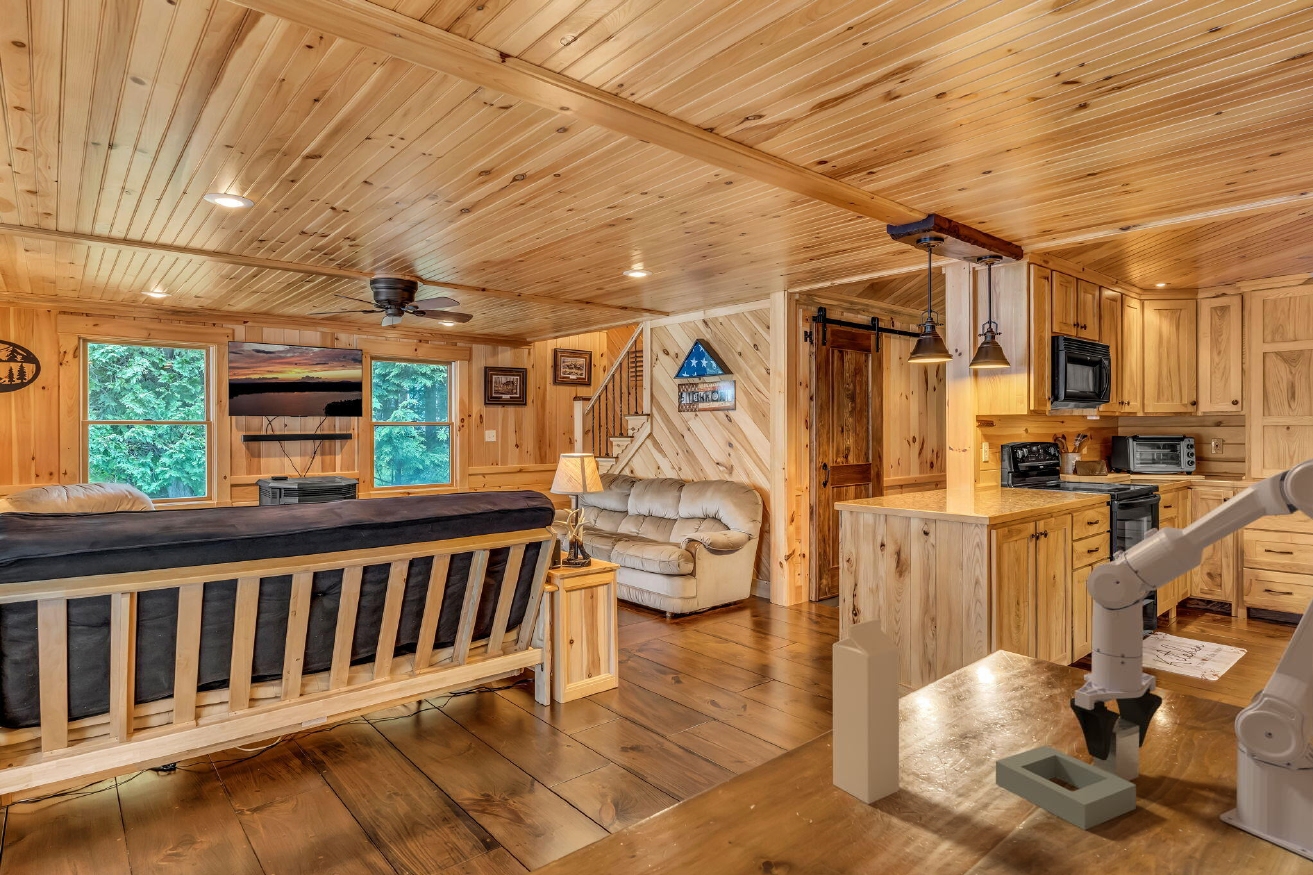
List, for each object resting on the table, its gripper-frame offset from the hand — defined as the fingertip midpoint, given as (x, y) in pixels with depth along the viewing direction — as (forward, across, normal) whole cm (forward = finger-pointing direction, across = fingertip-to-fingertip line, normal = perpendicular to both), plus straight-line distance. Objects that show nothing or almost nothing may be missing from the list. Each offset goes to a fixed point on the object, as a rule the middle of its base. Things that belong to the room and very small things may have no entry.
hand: (1115, 750), depth 96 cm
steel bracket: (+3, 0, 0) cm, 3 cm away
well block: (+3, +11, 0) cm, 12 cm away
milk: (+4, +32, -13) cm, 35 cm away
